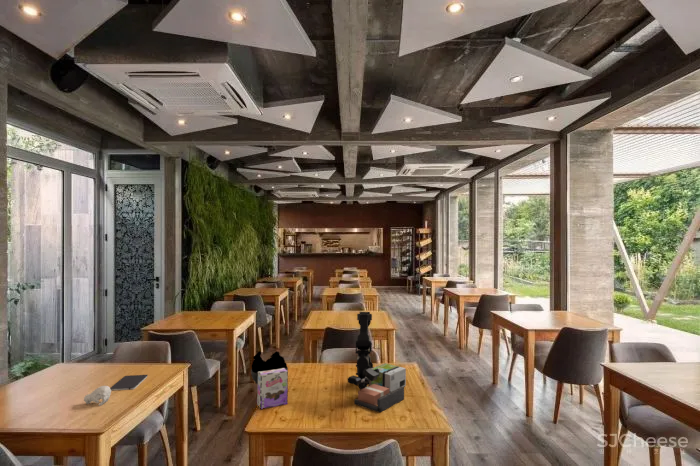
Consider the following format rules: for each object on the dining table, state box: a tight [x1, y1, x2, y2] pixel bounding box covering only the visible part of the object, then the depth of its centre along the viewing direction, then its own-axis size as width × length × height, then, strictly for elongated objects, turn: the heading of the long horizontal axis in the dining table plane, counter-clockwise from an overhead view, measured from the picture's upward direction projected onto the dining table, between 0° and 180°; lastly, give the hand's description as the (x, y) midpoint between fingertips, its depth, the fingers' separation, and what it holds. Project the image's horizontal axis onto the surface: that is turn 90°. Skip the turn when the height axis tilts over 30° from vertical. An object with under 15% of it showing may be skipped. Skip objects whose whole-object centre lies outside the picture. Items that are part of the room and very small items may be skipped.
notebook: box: [110, 374, 148, 392], centre depth 222 cm, size 13×2×21 cm
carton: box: [357, 384, 389, 406], centre depth 199 cm, size 10×13×5 cm
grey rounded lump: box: [83, 385, 112, 407], centre depth 194 cm, size 6×8×12 cm
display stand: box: [353, 386, 405, 414], centre depth 197 cm, size 16×21×6 cm
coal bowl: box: [250, 350, 289, 386], centre depth 217 cm, size 20×20×19 cm
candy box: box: [256, 368, 289, 410], centre depth 193 cm, size 14×6×16 cm, turn 117°
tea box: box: [368, 362, 407, 392], centre depth 218 cm, size 15×10×15 cm
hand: (363, 393), depth 204 cm, fingers closed
